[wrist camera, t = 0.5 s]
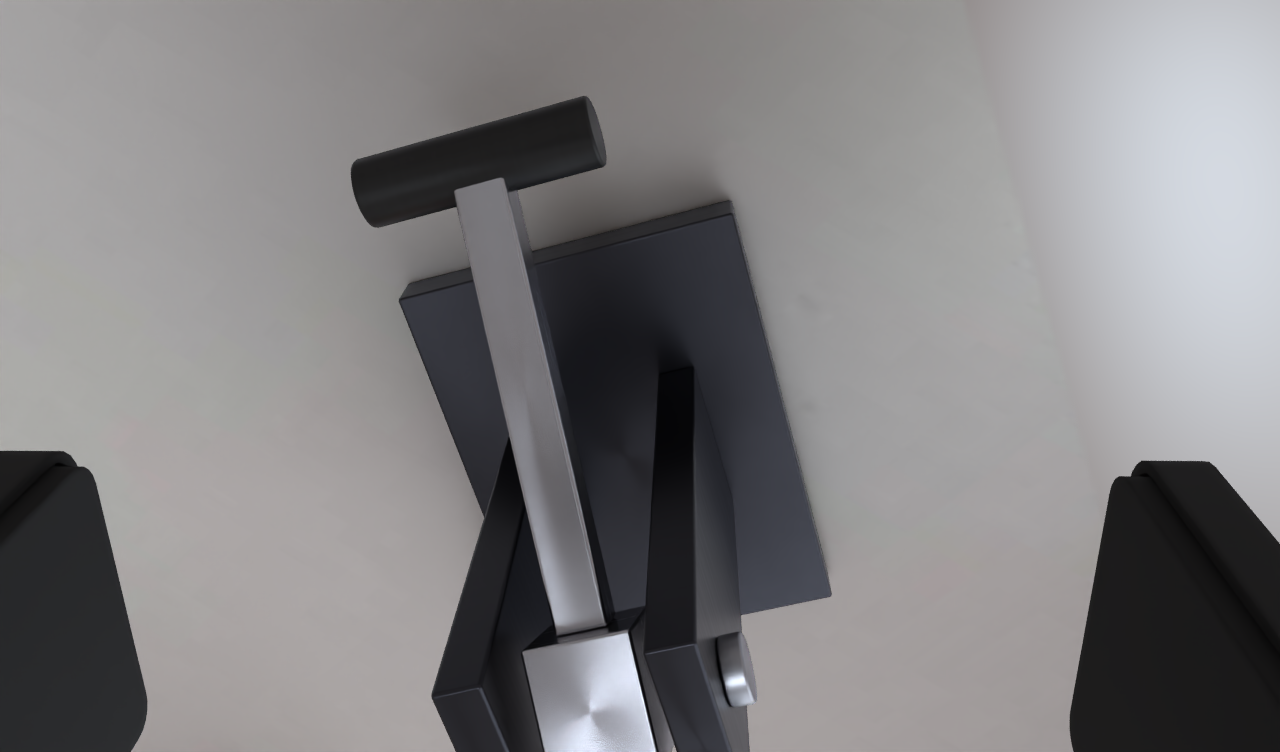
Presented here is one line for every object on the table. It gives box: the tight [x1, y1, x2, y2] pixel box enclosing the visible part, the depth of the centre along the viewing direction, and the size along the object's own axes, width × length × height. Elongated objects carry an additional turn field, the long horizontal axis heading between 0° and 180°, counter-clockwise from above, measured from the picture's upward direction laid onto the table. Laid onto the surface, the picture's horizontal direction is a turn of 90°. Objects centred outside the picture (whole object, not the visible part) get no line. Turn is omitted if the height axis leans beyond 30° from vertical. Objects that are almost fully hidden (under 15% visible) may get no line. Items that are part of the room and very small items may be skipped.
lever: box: [351, 96, 674, 752], centre depth 23 cm, size 13×5×2 cm, turn 16°
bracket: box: [399, 200, 832, 752], centre depth 27 cm, size 12×9×13 cm
